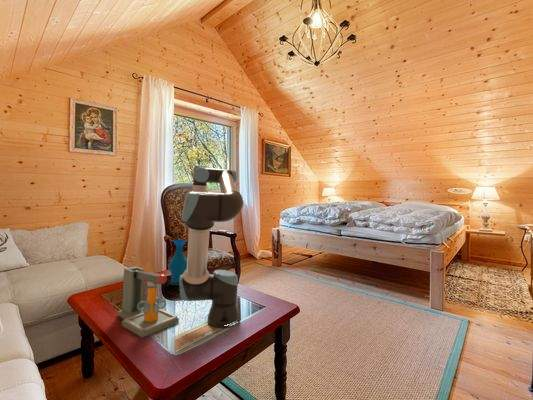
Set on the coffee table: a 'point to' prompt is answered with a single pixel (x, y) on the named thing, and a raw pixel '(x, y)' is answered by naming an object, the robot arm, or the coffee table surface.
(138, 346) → the coffee table surface
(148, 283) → the press lever
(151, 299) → the cylinder
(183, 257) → the vase
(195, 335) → the coffee table surface
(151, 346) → the coffee table surface
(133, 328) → the press frame
